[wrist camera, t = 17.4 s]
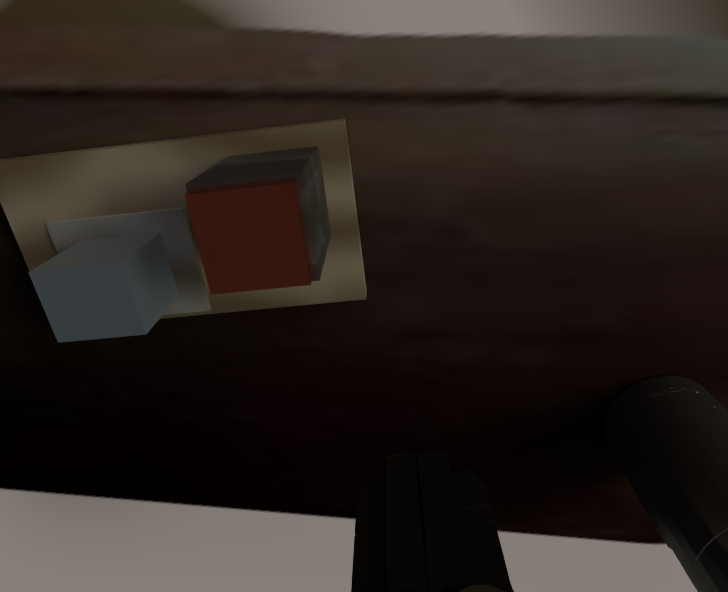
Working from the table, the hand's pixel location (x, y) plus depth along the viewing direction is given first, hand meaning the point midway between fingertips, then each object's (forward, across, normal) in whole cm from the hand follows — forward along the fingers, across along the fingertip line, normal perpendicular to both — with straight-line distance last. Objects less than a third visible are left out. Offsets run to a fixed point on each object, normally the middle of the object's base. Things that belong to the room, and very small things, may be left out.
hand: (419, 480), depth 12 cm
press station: (+27, +15, -1) cm, 31 cm away
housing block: (+25, +20, +1) cm, 32 cm away
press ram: (+23, +8, -3) cm, 24 cm away
